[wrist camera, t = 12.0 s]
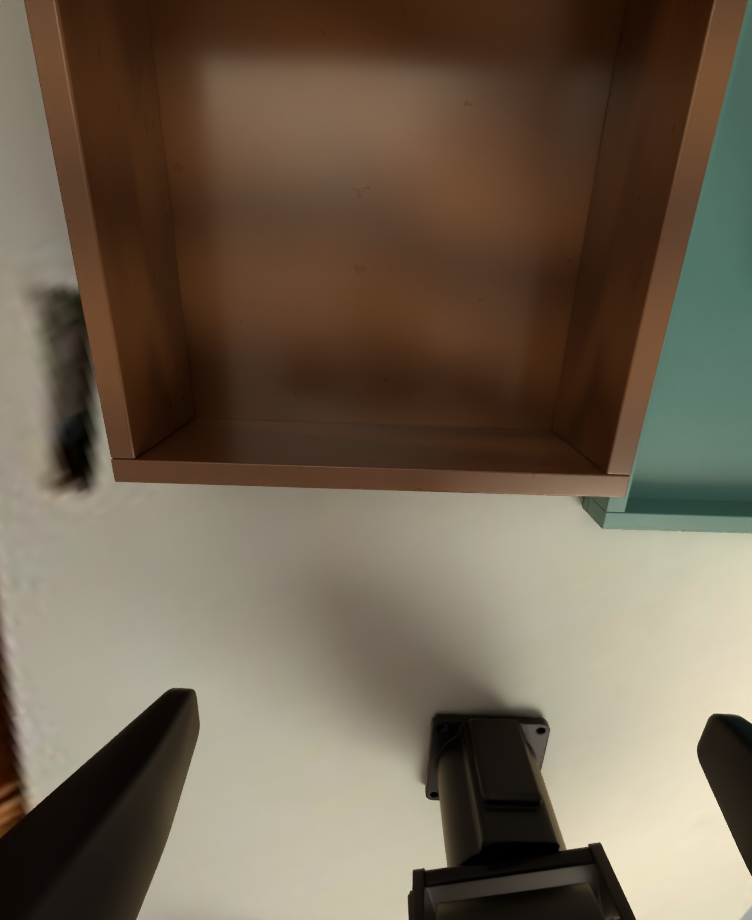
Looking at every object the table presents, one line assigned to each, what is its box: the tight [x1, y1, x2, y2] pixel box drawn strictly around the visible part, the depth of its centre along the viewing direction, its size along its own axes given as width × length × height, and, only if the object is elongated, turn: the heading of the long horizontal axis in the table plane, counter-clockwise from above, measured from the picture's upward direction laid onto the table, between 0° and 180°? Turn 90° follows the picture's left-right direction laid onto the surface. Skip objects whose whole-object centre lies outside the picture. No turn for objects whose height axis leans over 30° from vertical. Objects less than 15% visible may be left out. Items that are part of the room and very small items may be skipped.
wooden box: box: [24, 0, 748, 498], centre depth 14 cm, size 16×17×5 cm
